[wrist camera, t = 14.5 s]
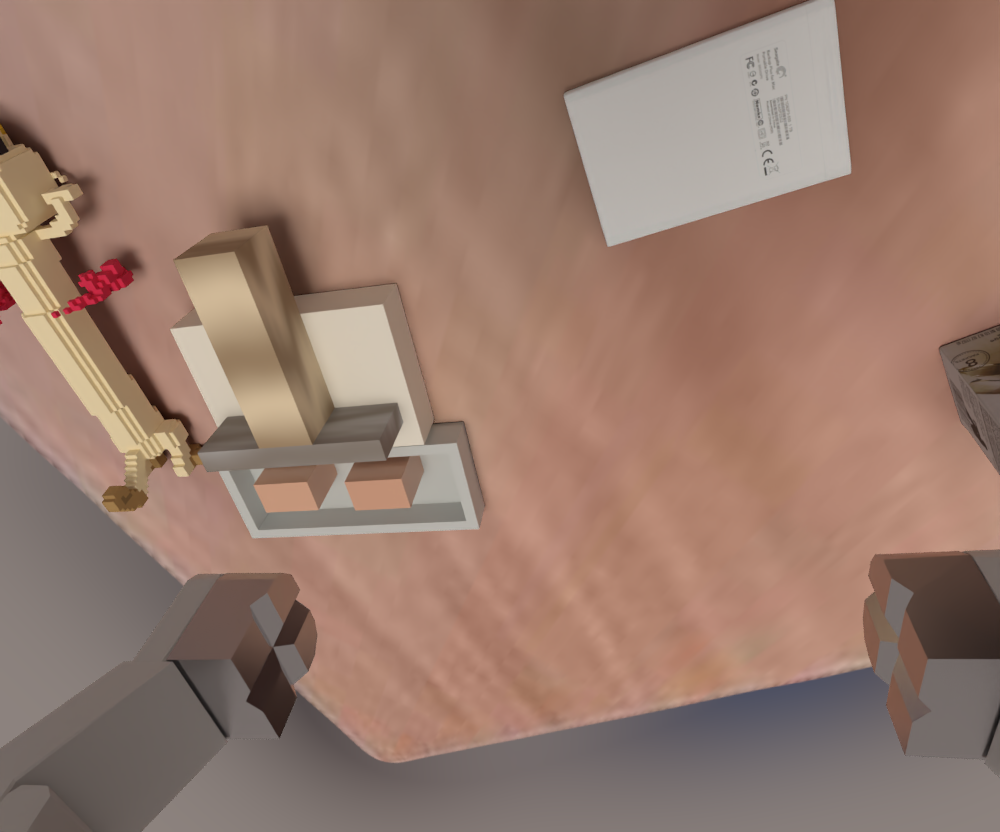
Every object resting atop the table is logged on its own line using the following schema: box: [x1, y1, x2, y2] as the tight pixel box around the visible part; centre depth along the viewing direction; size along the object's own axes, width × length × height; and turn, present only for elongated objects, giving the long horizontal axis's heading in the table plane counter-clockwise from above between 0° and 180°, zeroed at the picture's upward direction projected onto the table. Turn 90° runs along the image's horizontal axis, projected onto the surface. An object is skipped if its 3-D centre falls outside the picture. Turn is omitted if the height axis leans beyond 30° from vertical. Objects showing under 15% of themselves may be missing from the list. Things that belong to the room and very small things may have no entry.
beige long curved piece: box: [0, 124, 203, 512], centre depth 43 cm, size 10×9×25 cm
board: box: [170, 284, 434, 447], centre depth 45 cm, size 10×14×3 cm
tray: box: [219, 422, 485, 538], centre depth 50 cm, size 8×18×2 cm, turn 100°
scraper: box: [173, 225, 403, 472], centre depth 40 cm, size 14×12×4 cm
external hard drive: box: [564, 0, 851, 247], centre depth 34 cm, size 2×8×12 cm
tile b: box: [344, 455, 424, 511], centre depth 47 cm, size 4×4×2 cm
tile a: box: [253, 464, 338, 513], centre depth 49 cm, size 4×4×2 cm
